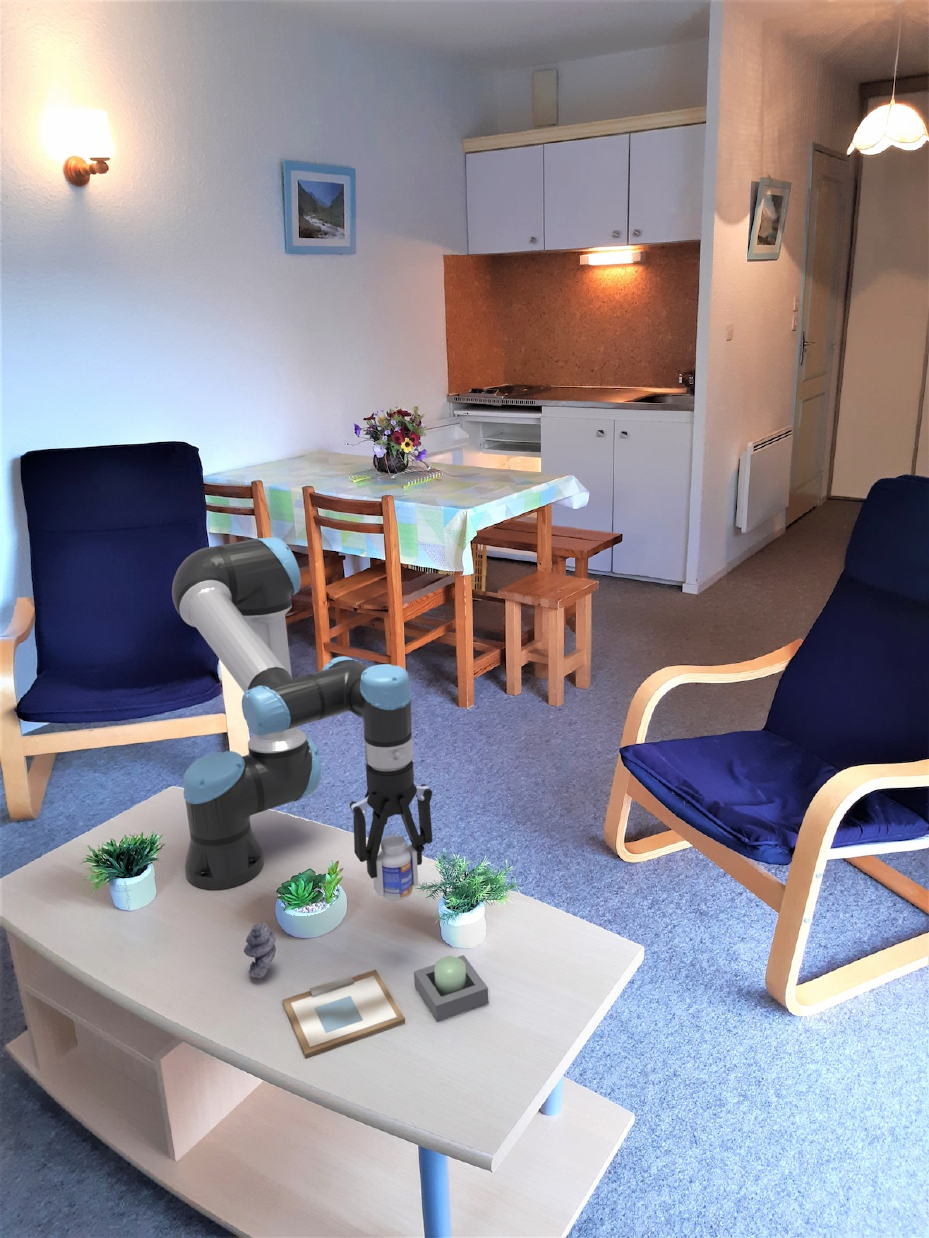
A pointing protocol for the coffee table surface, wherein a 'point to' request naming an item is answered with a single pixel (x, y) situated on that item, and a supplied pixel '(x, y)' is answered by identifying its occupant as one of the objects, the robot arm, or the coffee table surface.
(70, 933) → the coffee table surface
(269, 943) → the seashell
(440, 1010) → the button housing
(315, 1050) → the clipboard
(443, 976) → the button
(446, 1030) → the coffee table surface
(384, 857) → the pill bottle
